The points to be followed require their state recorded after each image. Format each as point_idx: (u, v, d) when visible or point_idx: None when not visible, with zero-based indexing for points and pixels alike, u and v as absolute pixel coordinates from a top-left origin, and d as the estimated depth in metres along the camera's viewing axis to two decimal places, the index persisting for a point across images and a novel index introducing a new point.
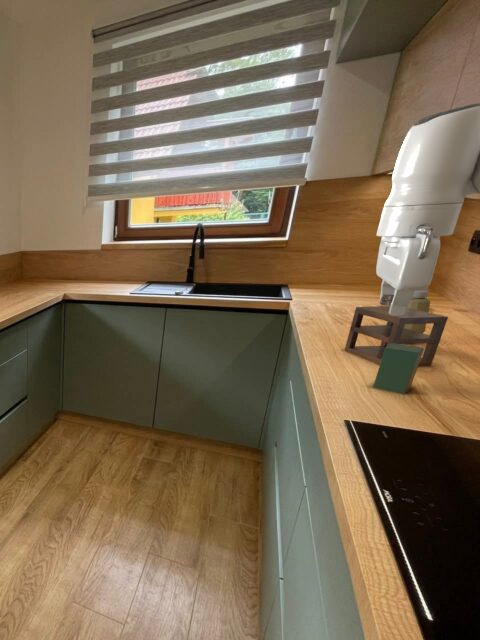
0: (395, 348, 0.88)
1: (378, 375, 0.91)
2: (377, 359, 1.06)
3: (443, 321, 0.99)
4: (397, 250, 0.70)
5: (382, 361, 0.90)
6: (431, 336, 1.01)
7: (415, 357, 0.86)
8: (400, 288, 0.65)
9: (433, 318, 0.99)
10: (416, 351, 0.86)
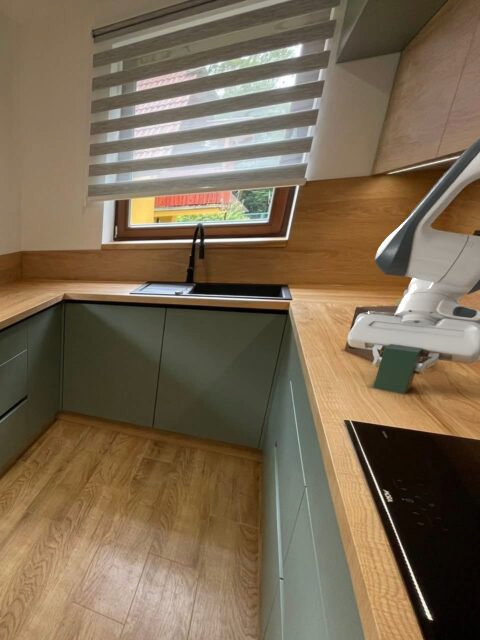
0: (395, 348, 0.88)
1: (378, 375, 0.91)
2: None
3: None
4: None
5: (382, 361, 0.90)
6: None
7: (415, 357, 0.86)
8: (349, 344, 0.99)
9: None
10: (416, 351, 0.86)
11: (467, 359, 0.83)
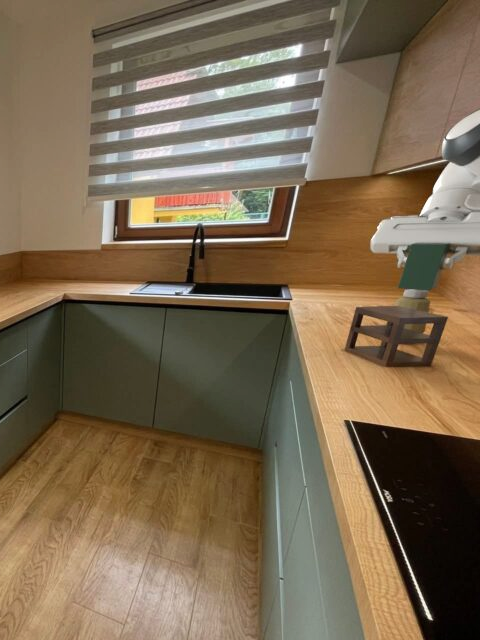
0: (421, 244, 0.87)
1: (403, 274, 0.89)
2: (377, 359, 1.06)
3: (443, 321, 0.99)
4: None
5: (408, 259, 0.88)
6: (431, 336, 1.01)
7: (443, 250, 0.84)
8: None
9: (433, 318, 0.99)
10: (444, 244, 0.84)
11: None
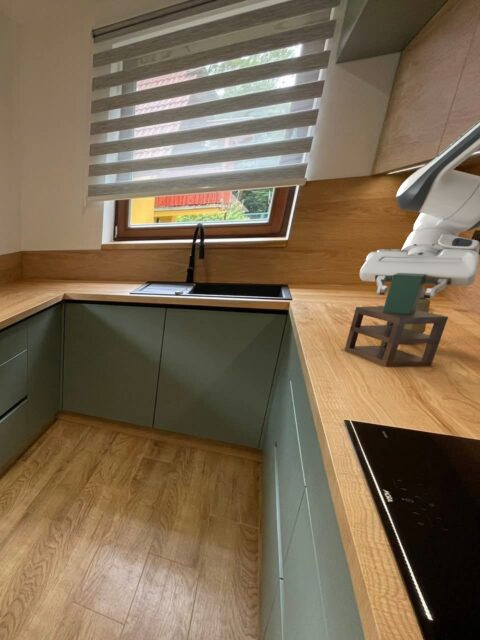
0: (402, 274, 1.02)
1: (387, 300, 1.05)
2: (377, 359, 1.06)
3: (443, 321, 0.99)
4: None
5: (391, 287, 1.04)
6: (431, 336, 1.01)
7: (419, 280, 0.99)
8: (361, 279, 1.12)
9: (433, 318, 0.99)
10: (420, 275, 1.00)
11: (464, 281, 0.97)
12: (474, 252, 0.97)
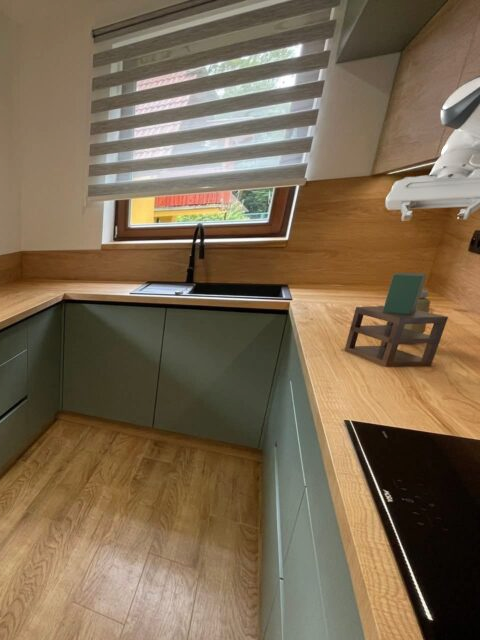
0: (402, 274, 1.02)
1: (387, 300, 1.05)
2: (377, 359, 1.06)
3: (443, 321, 0.99)
4: None
5: (391, 287, 1.04)
6: (431, 336, 1.01)
7: (419, 280, 0.99)
8: (387, 208, 1.09)
9: (433, 318, 0.99)
10: (420, 275, 1.00)
11: None
12: None
